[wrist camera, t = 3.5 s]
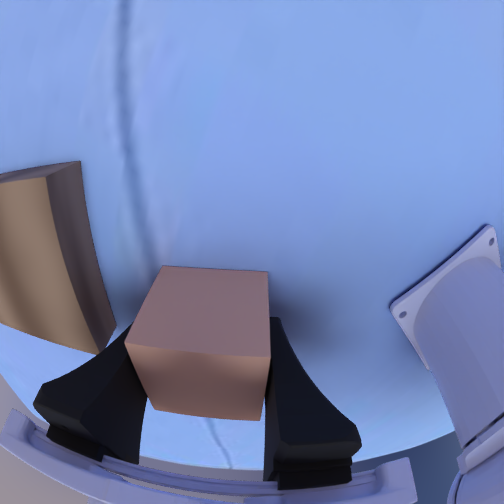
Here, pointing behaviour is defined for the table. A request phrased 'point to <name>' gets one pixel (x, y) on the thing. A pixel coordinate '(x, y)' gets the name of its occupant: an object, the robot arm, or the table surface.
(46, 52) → the table surface
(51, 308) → the base block
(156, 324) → the cube
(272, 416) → the robot arm
